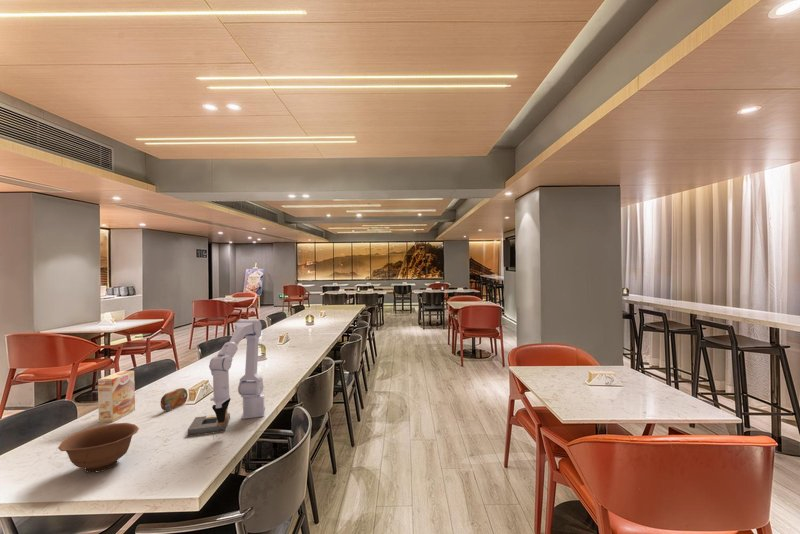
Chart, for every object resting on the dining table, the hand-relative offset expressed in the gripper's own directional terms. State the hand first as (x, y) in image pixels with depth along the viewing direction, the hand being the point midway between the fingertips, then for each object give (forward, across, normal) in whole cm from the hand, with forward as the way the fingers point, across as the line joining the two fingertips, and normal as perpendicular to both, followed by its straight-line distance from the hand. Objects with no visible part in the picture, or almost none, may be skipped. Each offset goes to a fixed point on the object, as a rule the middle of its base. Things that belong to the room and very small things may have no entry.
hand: (222, 420), depth 155 cm
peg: (+2, 0, 0) cm, 2 cm away
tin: (+7, -46, -29) cm, 55 cm away
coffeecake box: (+7, -43, -52) cm, 68 cm away
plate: (+7, -13, -7) cm, 16 cm away
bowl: (+7, +11, -37) cm, 39 cm away
